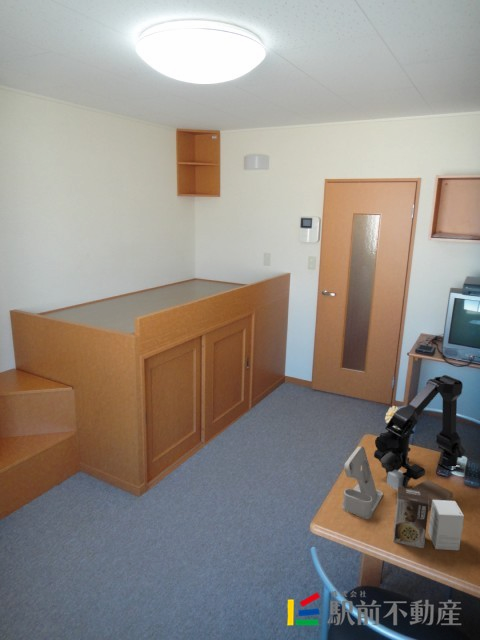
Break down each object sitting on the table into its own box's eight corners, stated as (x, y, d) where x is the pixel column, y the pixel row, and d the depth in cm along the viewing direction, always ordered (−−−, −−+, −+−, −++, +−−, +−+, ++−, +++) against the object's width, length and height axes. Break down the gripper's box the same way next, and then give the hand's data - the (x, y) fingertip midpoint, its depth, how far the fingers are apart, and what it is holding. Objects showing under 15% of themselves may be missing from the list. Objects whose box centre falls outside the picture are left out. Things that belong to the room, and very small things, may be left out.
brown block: (426, 485, 170) (427, 478, 169) (451, 499, 162) (452, 492, 161) (410, 495, 164) (411, 488, 164) (435, 510, 156) (436, 502, 156)
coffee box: (423, 535, 145) (428, 491, 140) (424, 549, 139) (430, 504, 135) (393, 528, 147) (398, 485, 143) (392, 542, 141) (398, 497, 137)
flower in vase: (378, 449, 195) (383, 396, 189) (406, 454, 191) (412, 400, 185) (375, 464, 183) (380, 408, 177) (405, 471, 179) (411, 413, 173)
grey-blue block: (394, 479, 174) (395, 468, 173) (405, 486, 170) (407, 474, 169) (386, 483, 171) (387, 472, 170) (397, 490, 167) (398, 478, 166)
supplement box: (450, 534, 145) (456, 500, 142) (459, 551, 138) (465, 516, 135) (427, 532, 146) (431, 498, 143) (434, 549, 139) (439, 514, 136)
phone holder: (368, 520, 151) (373, 473, 146) (339, 509, 156) (343, 463, 152) (383, 494, 165) (388, 450, 161) (356, 484, 170) (360, 442, 166)
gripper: (366, 440, 169) (362, 477, 173) (409, 463, 154) (404, 503, 158) (385, 432, 175) (381, 468, 179) (428, 454, 161) (423, 492, 165)
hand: (396, 482), depth 170 cm, fingers open, 6 cm apart
